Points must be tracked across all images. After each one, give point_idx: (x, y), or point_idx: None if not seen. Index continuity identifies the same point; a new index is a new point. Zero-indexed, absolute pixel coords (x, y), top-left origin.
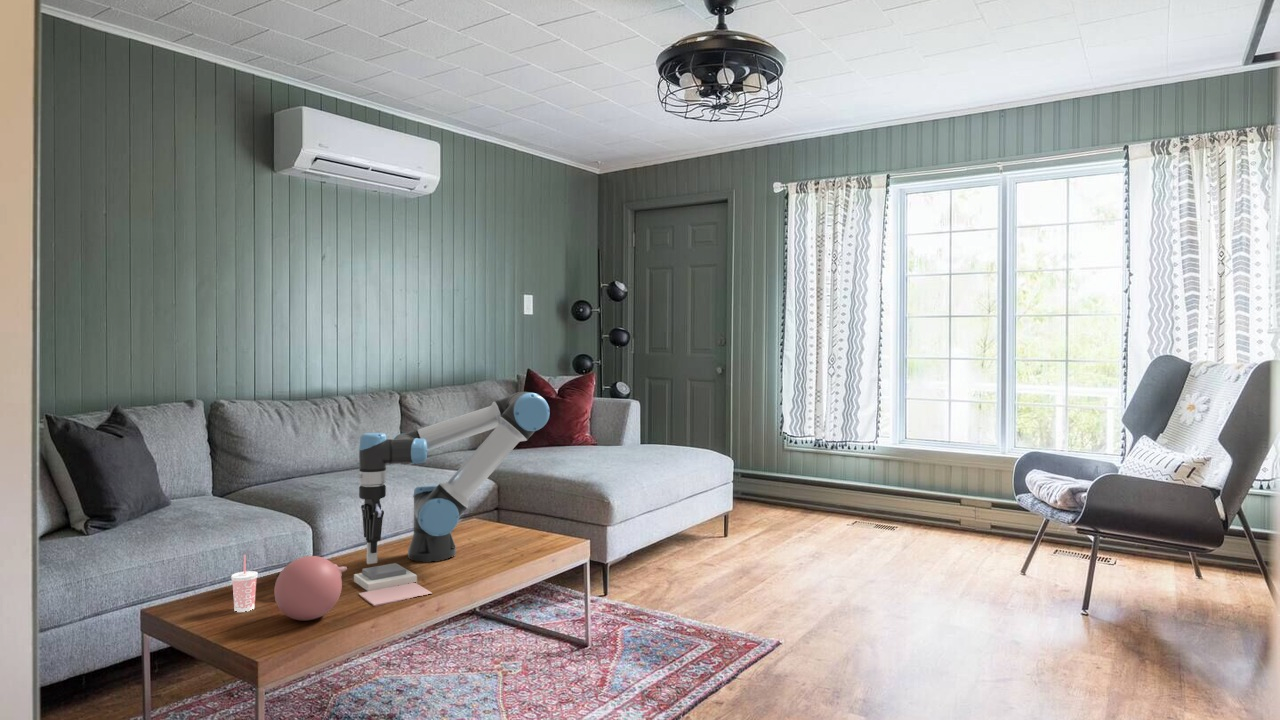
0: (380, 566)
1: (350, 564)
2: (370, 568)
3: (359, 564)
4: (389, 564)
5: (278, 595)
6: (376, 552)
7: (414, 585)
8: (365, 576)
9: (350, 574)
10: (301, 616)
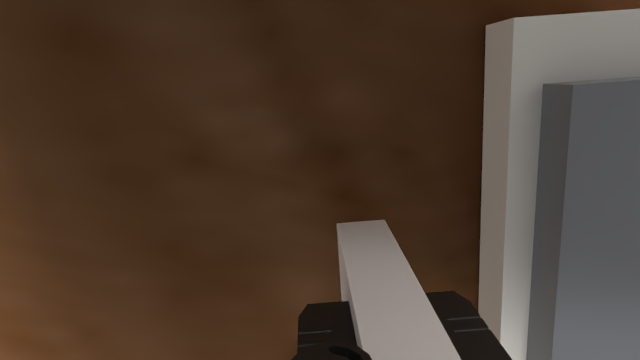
0: (587, 248)
1: (19, 301)
2: (587, 333)
3: (48, 246)
4: (578, 157)
5: None
6: (453, 291)
7: None
8: None
9: None
10: None
